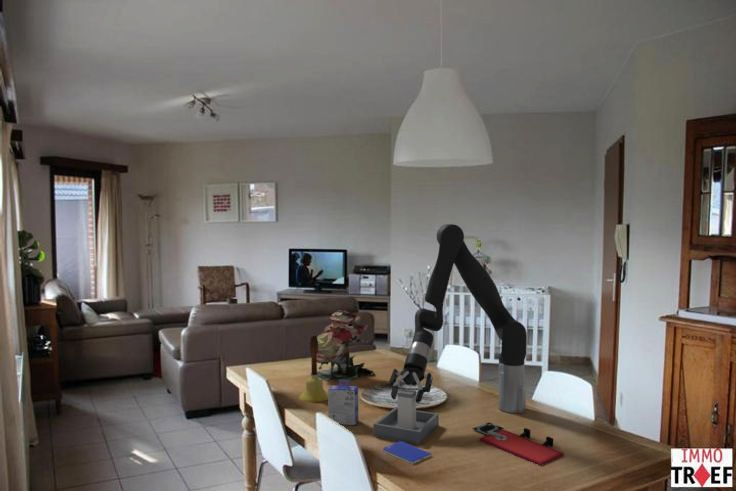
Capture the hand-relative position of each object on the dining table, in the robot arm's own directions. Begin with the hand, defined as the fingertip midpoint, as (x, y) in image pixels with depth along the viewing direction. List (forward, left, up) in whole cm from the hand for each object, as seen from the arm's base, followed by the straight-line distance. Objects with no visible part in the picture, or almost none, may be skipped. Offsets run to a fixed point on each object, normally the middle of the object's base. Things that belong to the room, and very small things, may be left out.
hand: (405, 400), depth 176 cm
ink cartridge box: (+23, +1, -11) cm, 25 cm away
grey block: (0, -1, -10) cm, 10 cm away
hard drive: (-7, +15, -11) cm, 20 cm away
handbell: (+47, -18, -11) cm, 52 cm away
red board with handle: (-34, -7, -11) cm, 37 cm away
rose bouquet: (+54, -51, -11) cm, 75 cm away
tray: (0, -1, -11) cm, 11 cm away
